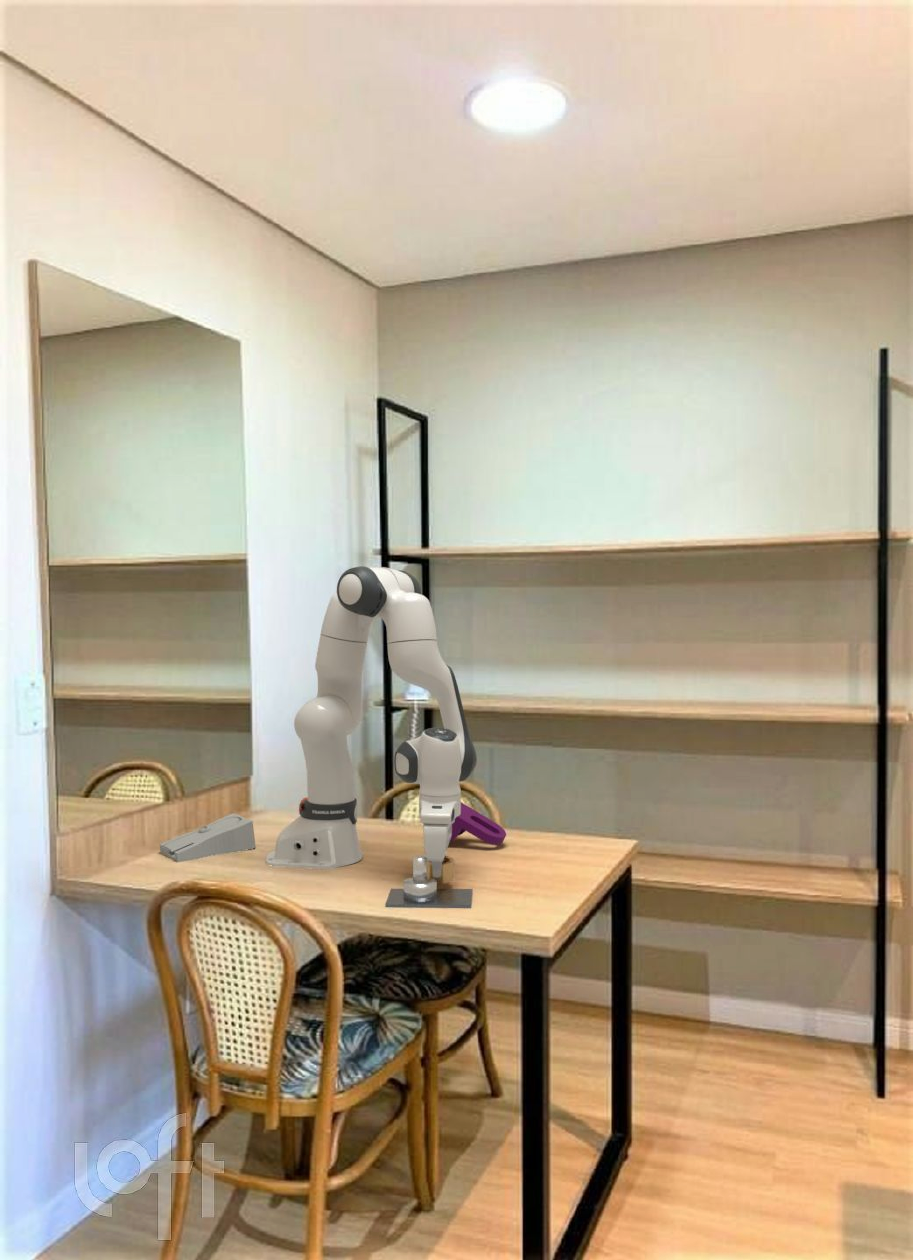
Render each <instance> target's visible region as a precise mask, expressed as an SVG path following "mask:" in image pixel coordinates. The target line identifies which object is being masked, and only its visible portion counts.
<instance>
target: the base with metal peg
mask: <svg viewBox="0 0 913 1260" xmlns="http://www.w3.org/2000/svg"><path fill="white" fill-rule="evenodd" d="M437 885H438V884H437V881H436V880H435V879H433V878H430V877H427V860H426V857H425V855H414V856H412V877H409V878H406V879H404V880H403V881H402V888H390V891H389V893H388V896H387V898H386V902H385V904H384V905H385V906H384V907H385V908H408V909H409V908H411V909H412V908H414V909H415V908H417V909H418V908H419V909H420V908H423V909H424V908H425V909H472V903H473V895H474V893H473V892H474V890H473V888H437Z"/></svg>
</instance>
